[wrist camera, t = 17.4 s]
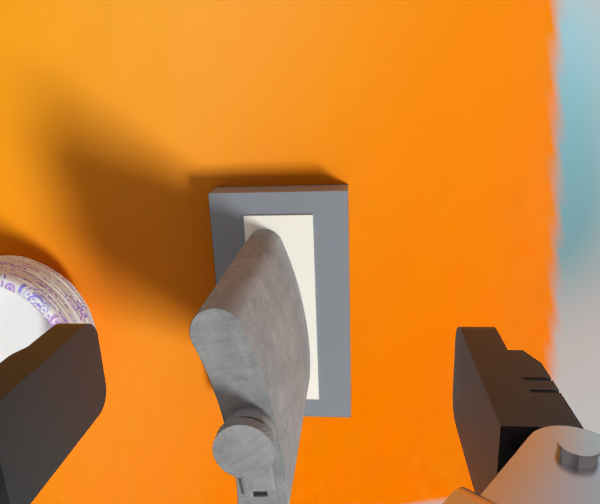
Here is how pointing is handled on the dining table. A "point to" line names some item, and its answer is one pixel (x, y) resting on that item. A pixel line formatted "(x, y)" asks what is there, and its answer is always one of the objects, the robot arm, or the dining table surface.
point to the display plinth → (301, 270)
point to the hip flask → (257, 367)
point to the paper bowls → (34, 302)
